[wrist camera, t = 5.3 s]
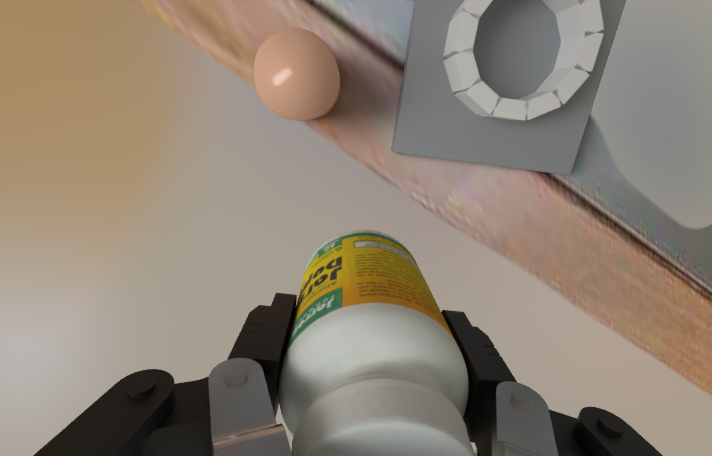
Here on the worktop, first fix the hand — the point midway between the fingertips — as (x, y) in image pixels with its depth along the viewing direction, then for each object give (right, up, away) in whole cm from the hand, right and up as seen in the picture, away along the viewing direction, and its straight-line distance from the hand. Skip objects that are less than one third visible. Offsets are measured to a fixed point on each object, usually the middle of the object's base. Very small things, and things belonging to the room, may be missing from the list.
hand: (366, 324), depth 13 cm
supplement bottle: (0, +1, +3) cm, 4 cm away
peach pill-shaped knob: (-4, +14, +13) cm, 20 cm away
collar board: (+10, +16, +13) cm, 23 cm away
